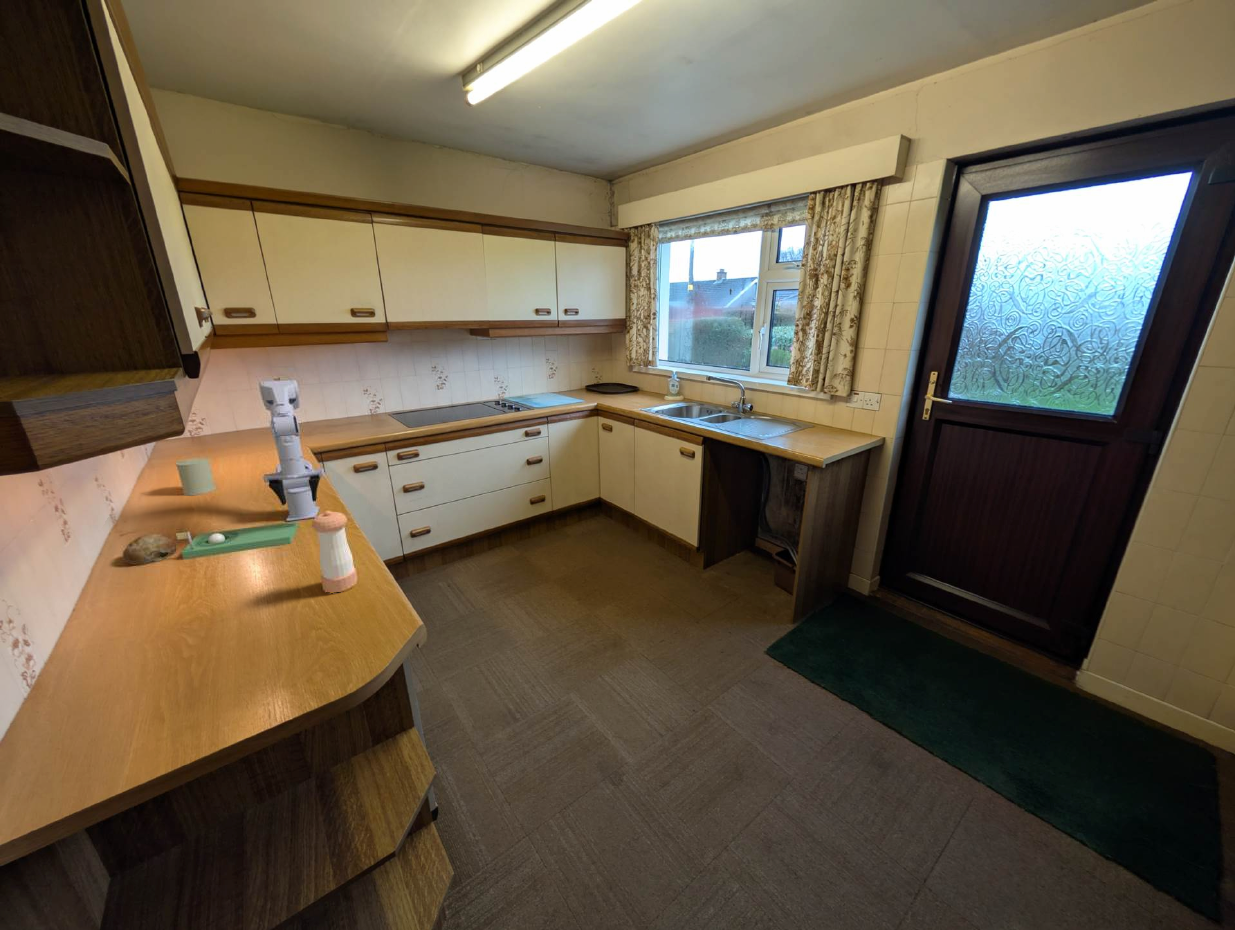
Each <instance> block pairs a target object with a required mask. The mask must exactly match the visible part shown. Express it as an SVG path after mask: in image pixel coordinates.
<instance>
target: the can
mask: <svg viewBox="0 0 1235 930" xmlns="http://www.w3.org/2000/svg"><path fill="white" fill-rule="evenodd" d="M175 465H176V467H177V473H178V475H179V478H180V483H181V485H182V491H183V495H184V496H199V495H200V496H201V495H204V494H209V493H212V492H214V491H216V490H217V487H216V484H215V479H214V476H213V473H212V468H211V463H210V459H209V458H208V457H194V458H193V457H192V458H189V459H188V458H187V459H182V460H180V461H177V462H176V463H175Z"/></svg>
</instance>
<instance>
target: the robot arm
mask: <svg viewBox="0 0 1235 930" xmlns="http://www.w3.org/2000/svg"><path fill="white" fill-rule="evenodd" d="M258 387H259V391H260V395H261V396H260V397H261V400H262V402H263V405H264V407H265V410H267V411H269V412H270V419H269V427H270V433H271V435H272V438H273V441H274V445H276V451H277V456H278V460H279V461H278V462H279V464H278V465H277V466H276V468H275V472H274V473H273V472H272V473H266V474H264V475H262V478H263V483H268V487H269V488H270V489H271V490H272V492H274V494H275V495H276V496H277V497H278V499H279V502H280V503H281V506H285V505H287V509H288V516H287V518H286V522H294V521H299V520H308V519H314V518H316V517H317V516H318V513H319V511H320V506H318V505H316V504H317V503H316V501H317V496H318V495H317V493H318V487H319V484H320V480H321V478H324V477H325V472H324V471H325V470H324V468H315V469H314V468H313V465H312V463H311V462H310V461H308V460H305V459H304V456H303V451H302V445H301V440H300V435H301V434H300V433H301V431H300V426H299V420H298V417H297V415H296V412H295V411H296V410H297V409H298V408H300V405H301V403H300V391H299V388H298V383H297V381H296V380H295V379H291V380H290V379H288V380H272V381H271V380H270V381H269V380H268V381H263V380H261V381H260V382H259V383H258Z"/></svg>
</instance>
